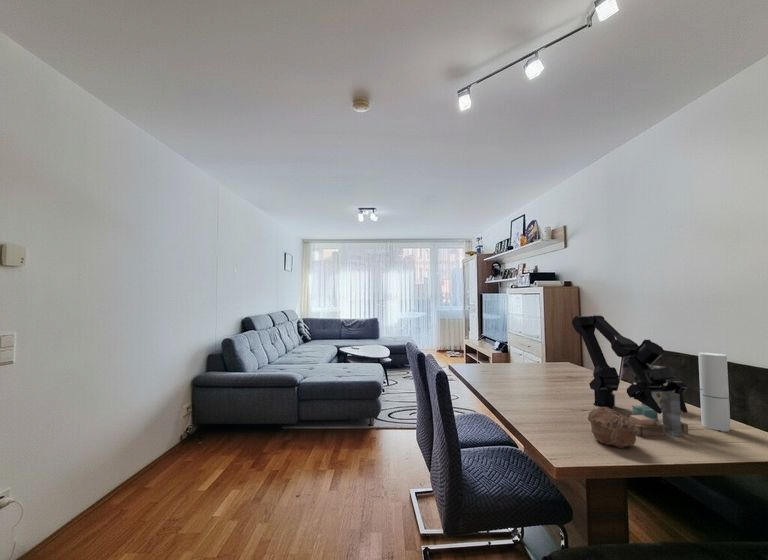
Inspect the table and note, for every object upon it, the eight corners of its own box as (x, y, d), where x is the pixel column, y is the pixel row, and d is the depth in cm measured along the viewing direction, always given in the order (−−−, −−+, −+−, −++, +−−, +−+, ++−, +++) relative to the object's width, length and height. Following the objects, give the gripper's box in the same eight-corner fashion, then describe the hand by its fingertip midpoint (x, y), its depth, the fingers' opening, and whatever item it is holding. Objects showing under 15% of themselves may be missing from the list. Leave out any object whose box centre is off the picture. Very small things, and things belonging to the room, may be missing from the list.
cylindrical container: (722, 425, 118) (719, 353, 120) (735, 432, 112) (731, 356, 113) (697, 422, 121) (694, 352, 122) (708, 429, 114) (705, 355, 116)
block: (629, 428, 115) (629, 415, 115) (642, 428, 115) (641, 415, 115) (641, 434, 110) (640, 420, 110) (653, 433, 111) (653, 419, 111)
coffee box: (659, 409, 135) (658, 368, 136) (641, 405, 140) (639, 366, 141) (668, 405, 140) (667, 366, 141) (650, 401, 145) (649, 364, 146)
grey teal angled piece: (632, 419, 123) (631, 383, 124) (645, 419, 124) (644, 383, 124) (670, 435, 109) (669, 394, 109) (684, 435, 109) (683, 394, 110)
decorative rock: (581, 434, 109) (580, 403, 110) (614, 433, 110) (613, 402, 111) (611, 453, 96) (610, 417, 97) (648, 452, 97) (647, 416, 98)
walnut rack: (619, 427, 115) (619, 418, 116) (668, 425, 118) (667, 416, 118) (638, 436, 108) (638, 427, 108) (690, 434, 110) (690, 425, 110)
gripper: (632, 358, 116) (663, 401, 104) (680, 357, 118) (716, 399, 106) (614, 376, 123) (642, 418, 111) (660, 375, 125) (692, 416, 114)
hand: (673, 412), depth 110 cm, fingers open, 9 cm apart
